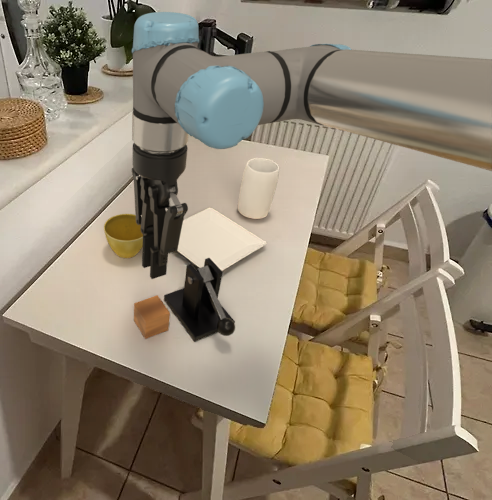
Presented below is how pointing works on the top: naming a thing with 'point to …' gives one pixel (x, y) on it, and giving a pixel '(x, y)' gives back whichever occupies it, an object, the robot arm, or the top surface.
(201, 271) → the lever
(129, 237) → the yellow bowl
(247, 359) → the top surface
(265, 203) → the cup
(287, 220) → the top surface
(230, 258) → the plate
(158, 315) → the brown wooden cube
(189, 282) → the black lever base
